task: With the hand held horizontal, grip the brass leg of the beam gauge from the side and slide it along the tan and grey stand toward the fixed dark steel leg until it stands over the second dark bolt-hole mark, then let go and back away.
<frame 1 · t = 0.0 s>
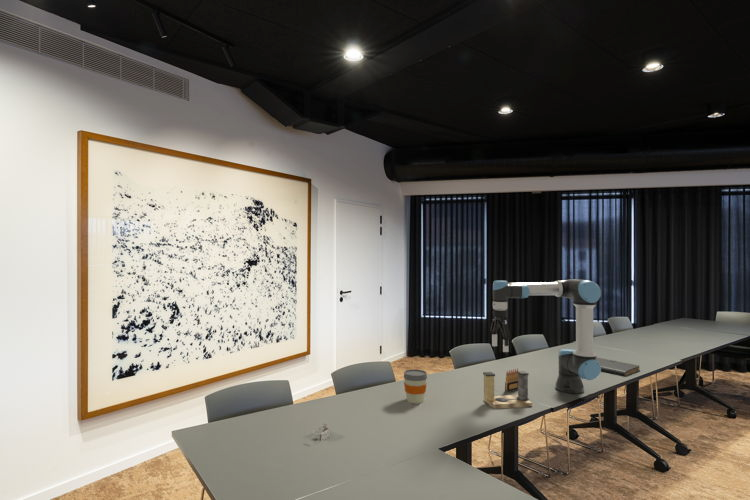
hand: (500, 349, 225), 28 cm above the table, tool pointing down, fingers open, 13 cm apart
reusable coffee cup: (415, 400, 226), on the table
tan and grey stand: (507, 403, 221), on the table
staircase: (321, 440, 179), on the table
ammunition clip: (512, 390, 243), on the table
brass leg: (488, 386, 220), point 9 cm above the table, slide at 7.0 cm
grey hardcover book: (606, 368, 292), on the table
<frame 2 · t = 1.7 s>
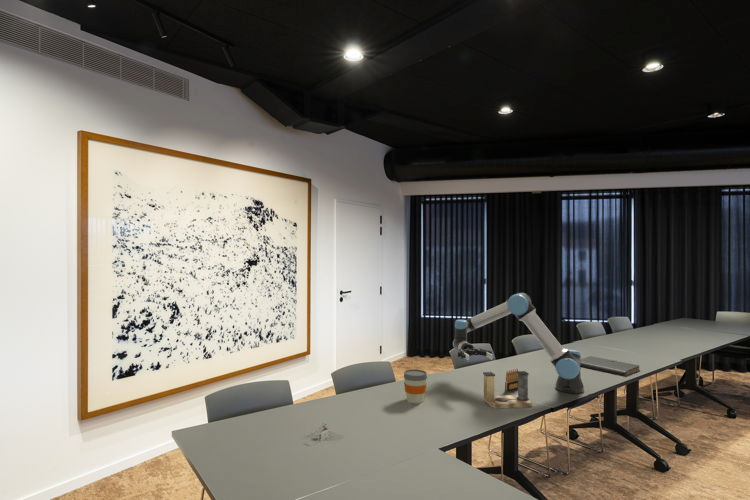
hand: (480, 357, 232), 22 cm above the table, tool horizontal, fingers open, 13 cm apart
nothing on the table moved.
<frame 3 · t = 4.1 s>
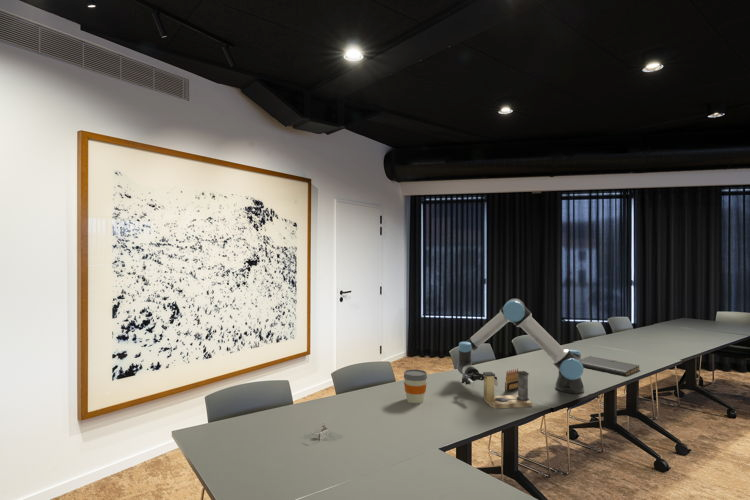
hand: (485, 384, 223), 9 cm above the table, tool horizontal, fingers open, 13 cm apart
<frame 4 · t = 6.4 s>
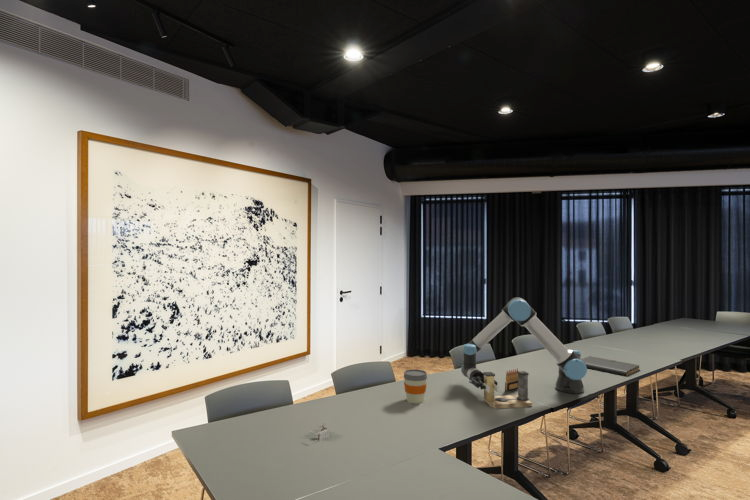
hand: (493, 389, 215), 9 cm above the table, tool horizontal, fingers closed on brass leg, 4 cm apart
brass leg: (489, 386, 220), point 9 cm above the table, slide at 7.0 cm, touching gripper
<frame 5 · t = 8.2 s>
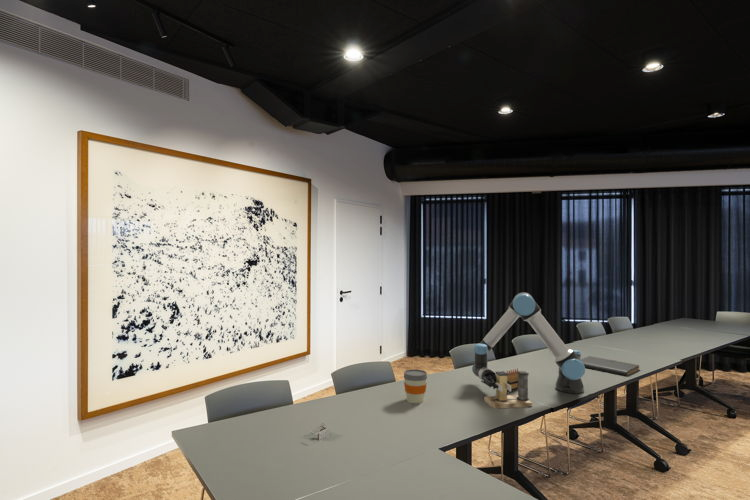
hand: (506, 388, 216), 9 cm above the table, tool horizontal, fingers closed on brass leg, 4 cm apart
brass leg: (501, 386, 221), point 9 cm above the table, slide at 0.0 cm, touching gripper
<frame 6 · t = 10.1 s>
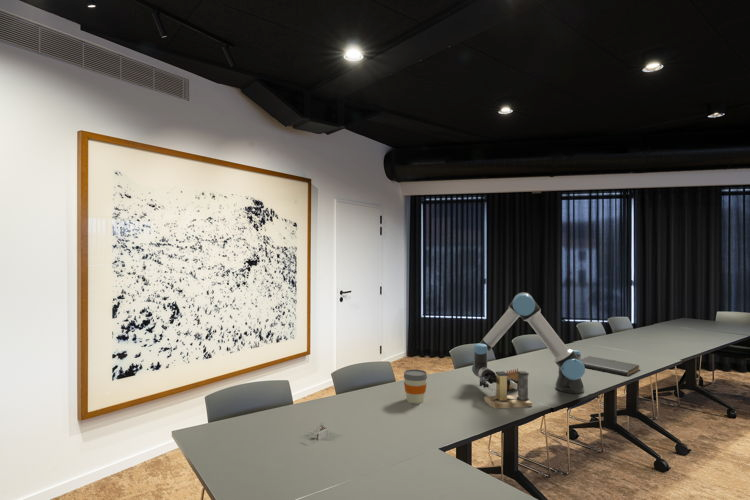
hand: (504, 387, 218), 10 cm above the table, tool horizontal, fingers open, 13 cm apart
brass leg: (501, 386, 221), point 9 cm above the table, slide at 0.0 cm
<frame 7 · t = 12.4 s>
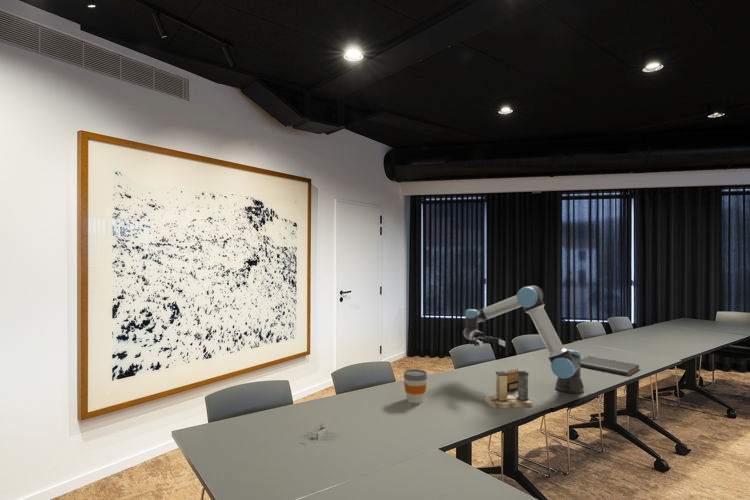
hand: (493, 344, 236), 28 cm above the table, tool horizontal, fingers open, 13 cm apart
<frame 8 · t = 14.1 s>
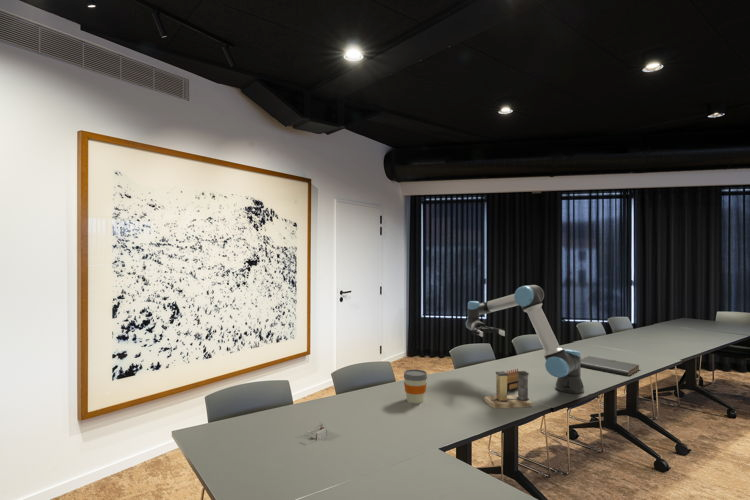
hand: (493, 334, 246), 32 cm above the table, tool horizontal, fingers open, 13 cm apart
at the end: brass leg slide at 0.0 cm; the gripper is holding nothing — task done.
